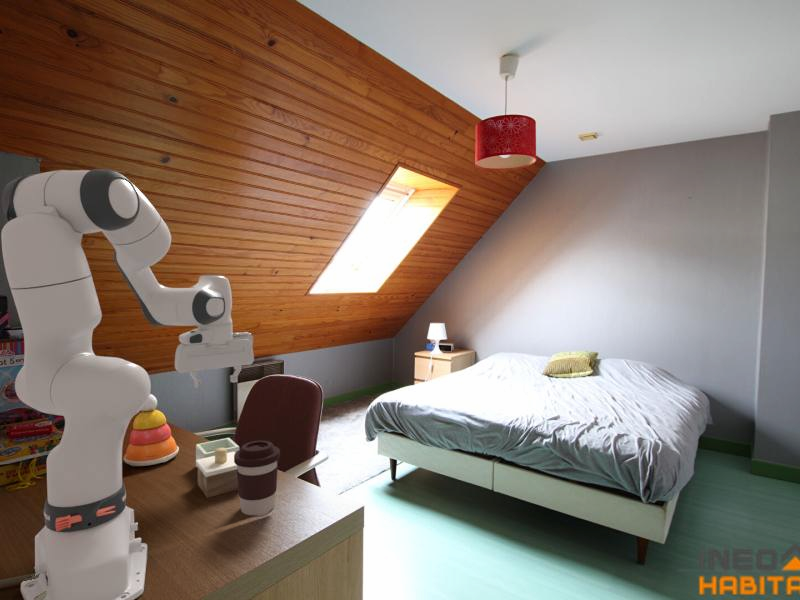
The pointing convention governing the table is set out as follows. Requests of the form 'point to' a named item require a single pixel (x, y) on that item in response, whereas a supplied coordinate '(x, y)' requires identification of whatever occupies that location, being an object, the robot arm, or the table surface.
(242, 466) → the coffee cup
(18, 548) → the table surface
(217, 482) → the box
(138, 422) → the stacking toy
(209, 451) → the planter
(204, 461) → the lid
